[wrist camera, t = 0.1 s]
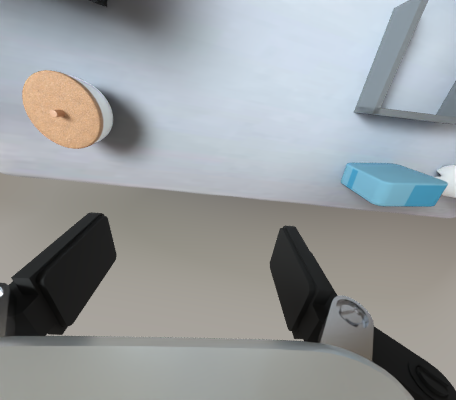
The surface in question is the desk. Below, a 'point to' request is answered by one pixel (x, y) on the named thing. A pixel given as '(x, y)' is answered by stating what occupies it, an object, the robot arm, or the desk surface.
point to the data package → (392, 184)
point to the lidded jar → (67, 109)
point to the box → (389, 63)
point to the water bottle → (448, 179)
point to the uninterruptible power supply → (100, 2)
